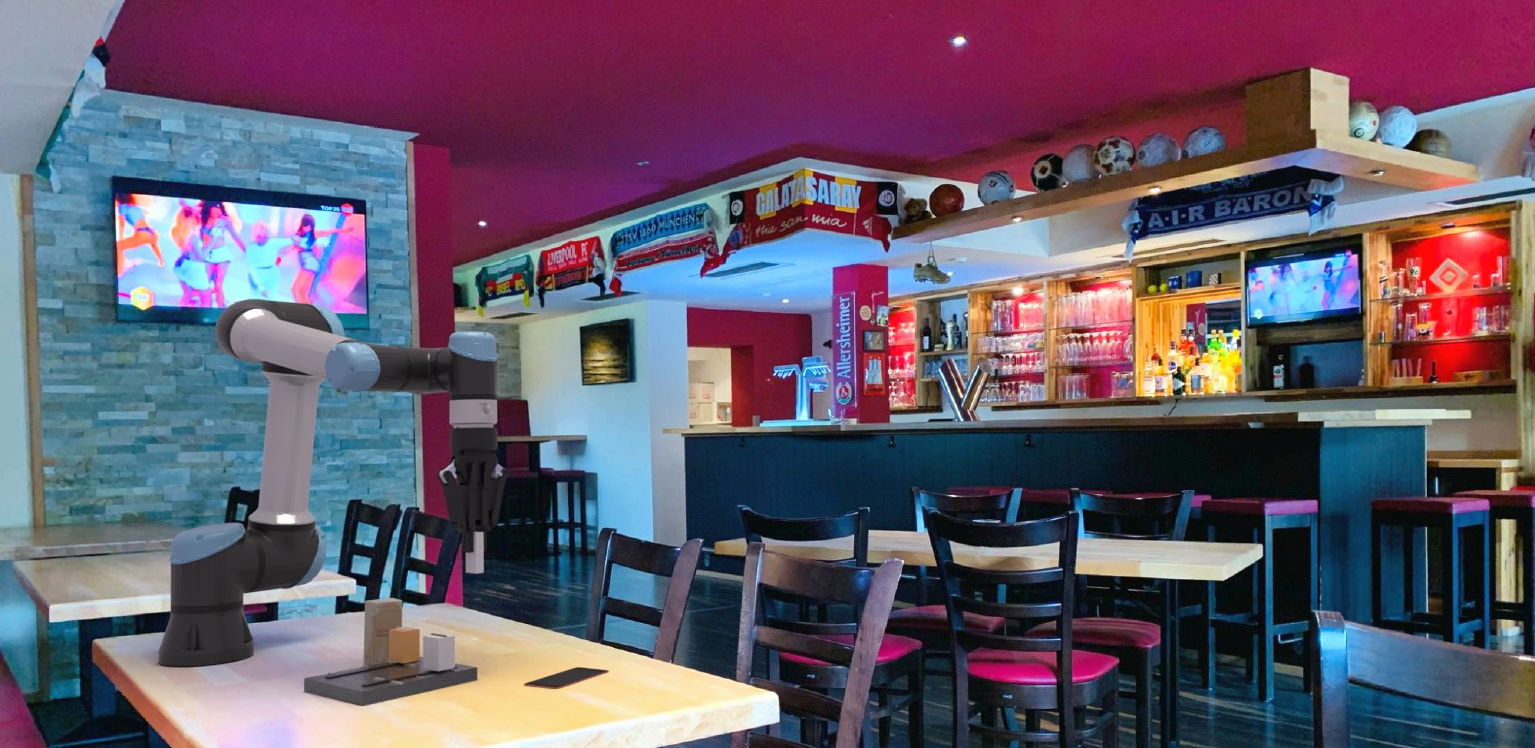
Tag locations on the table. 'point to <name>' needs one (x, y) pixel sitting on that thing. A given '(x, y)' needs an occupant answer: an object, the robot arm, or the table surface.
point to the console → (386, 681)
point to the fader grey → (438, 651)
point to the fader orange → (404, 645)
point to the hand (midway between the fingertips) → (474, 572)
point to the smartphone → (566, 678)
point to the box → (380, 628)
